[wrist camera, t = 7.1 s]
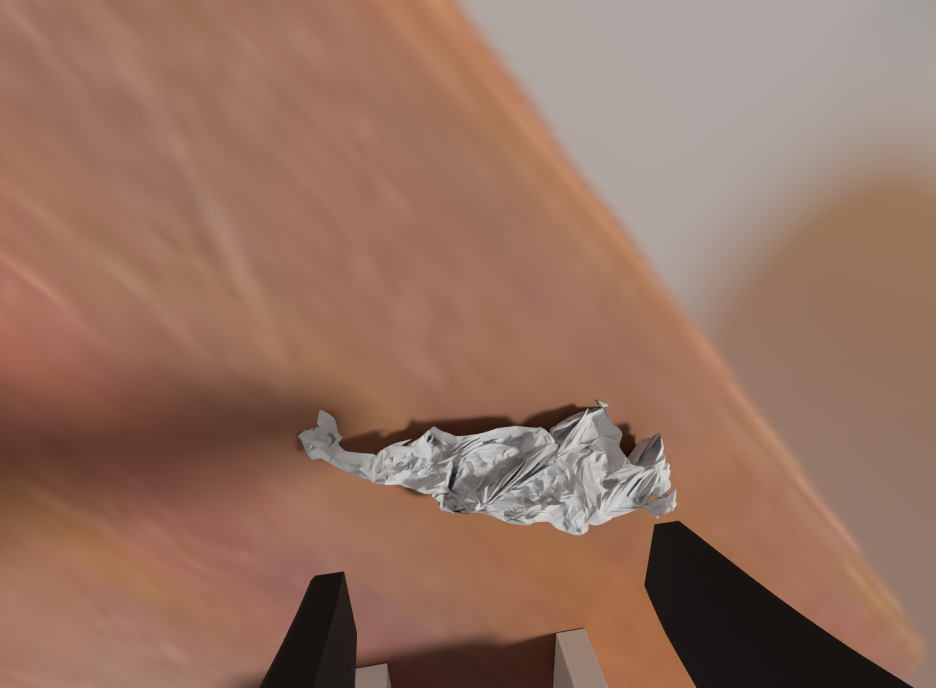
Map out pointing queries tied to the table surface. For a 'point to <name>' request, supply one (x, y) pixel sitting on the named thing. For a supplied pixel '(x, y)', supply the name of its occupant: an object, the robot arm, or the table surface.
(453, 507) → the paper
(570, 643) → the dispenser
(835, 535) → the table surface
